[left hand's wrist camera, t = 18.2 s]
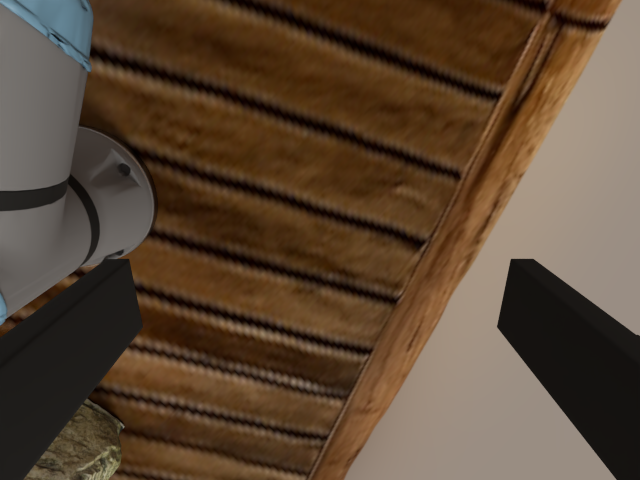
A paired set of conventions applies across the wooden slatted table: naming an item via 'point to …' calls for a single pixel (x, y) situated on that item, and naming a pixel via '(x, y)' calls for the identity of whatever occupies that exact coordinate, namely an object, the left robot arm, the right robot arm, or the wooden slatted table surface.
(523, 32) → the wooden slatted table surface
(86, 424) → the fossil
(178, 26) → the wooden slatted table surface
